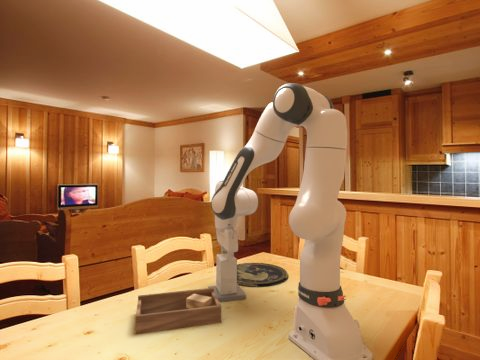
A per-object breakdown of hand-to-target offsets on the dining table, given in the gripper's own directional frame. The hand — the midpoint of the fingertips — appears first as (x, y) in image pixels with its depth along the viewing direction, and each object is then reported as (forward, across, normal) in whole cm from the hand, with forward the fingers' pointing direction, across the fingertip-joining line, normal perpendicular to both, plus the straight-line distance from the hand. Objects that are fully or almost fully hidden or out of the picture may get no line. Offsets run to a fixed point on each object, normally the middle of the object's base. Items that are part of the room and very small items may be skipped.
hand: (227, 258), depth 111 cm
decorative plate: (+14, +19, -18) cm, 29 cm away
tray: (+14, -13, +19) cm, 27 cm away
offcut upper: (+11, -13, +13) cm, 22 cm away
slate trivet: (+14, +1, 0) cm, 14 cm away
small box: (+12, +1, 0) cm, 12 cm away
